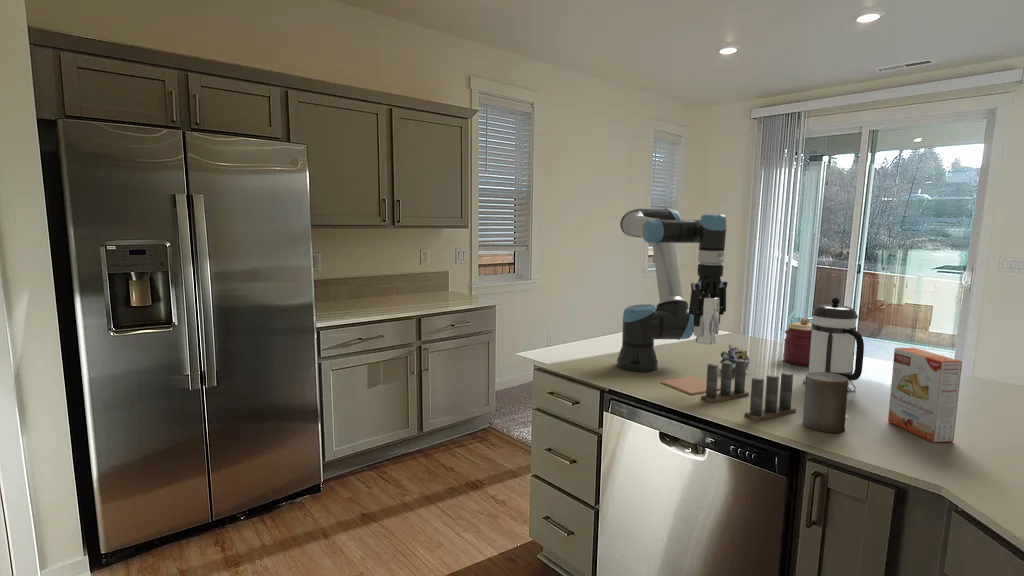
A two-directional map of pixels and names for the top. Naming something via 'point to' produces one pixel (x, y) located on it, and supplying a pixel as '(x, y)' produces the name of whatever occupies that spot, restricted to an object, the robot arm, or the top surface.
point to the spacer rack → (756, 390)
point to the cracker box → (925, 393)
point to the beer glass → (709, 320)
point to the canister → (797, 343)
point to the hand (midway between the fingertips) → (706, 334)
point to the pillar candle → (825, 402)
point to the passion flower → (735, 356)
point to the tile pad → (689, 385)
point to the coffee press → (835, 341)
